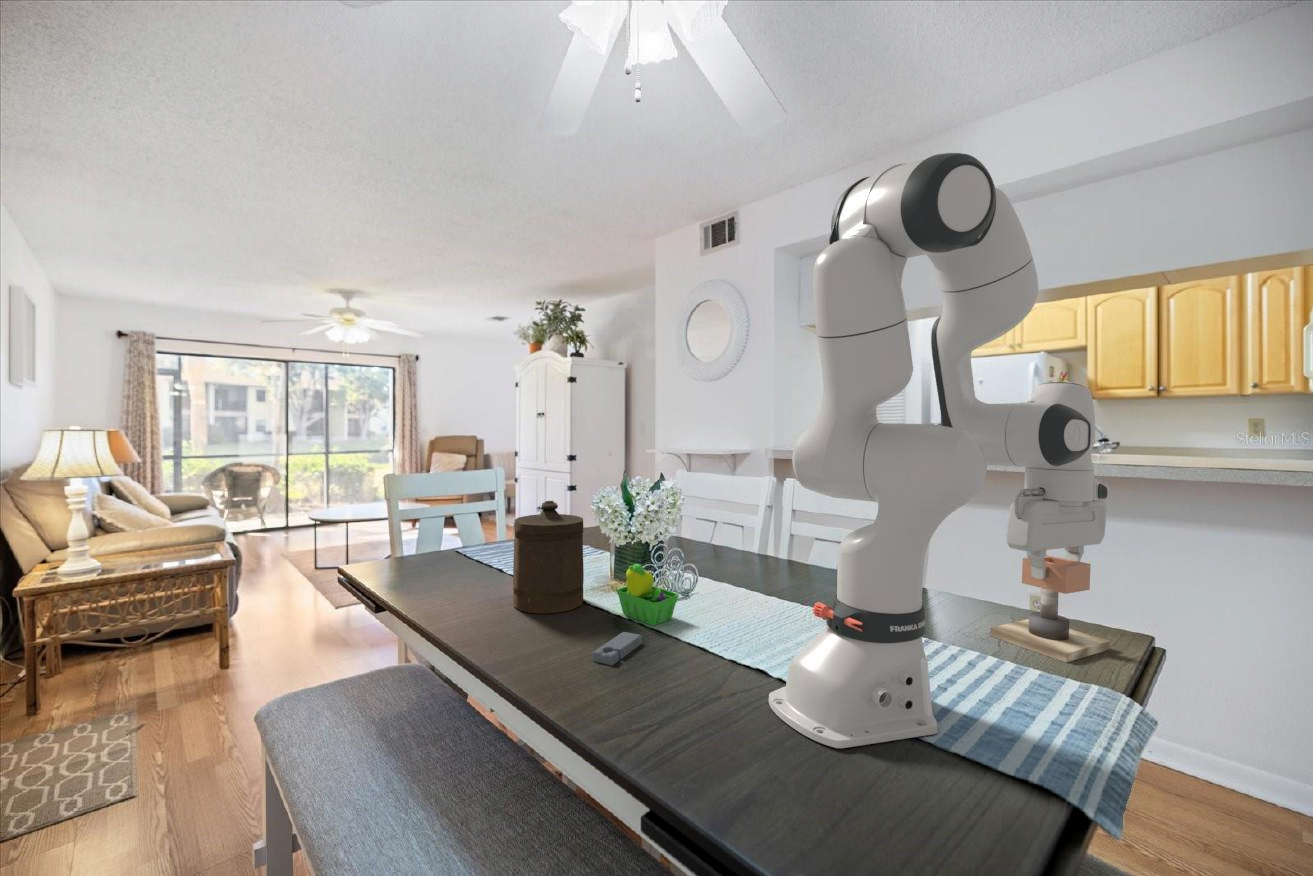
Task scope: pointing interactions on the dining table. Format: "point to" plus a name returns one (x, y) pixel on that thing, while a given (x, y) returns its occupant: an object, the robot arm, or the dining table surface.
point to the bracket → (617, 648)
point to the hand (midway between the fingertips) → (1054, 575)
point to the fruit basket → (645, 597)
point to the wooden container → (548, 561)
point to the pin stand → (1050, 633)
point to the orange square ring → (1059, 575)
